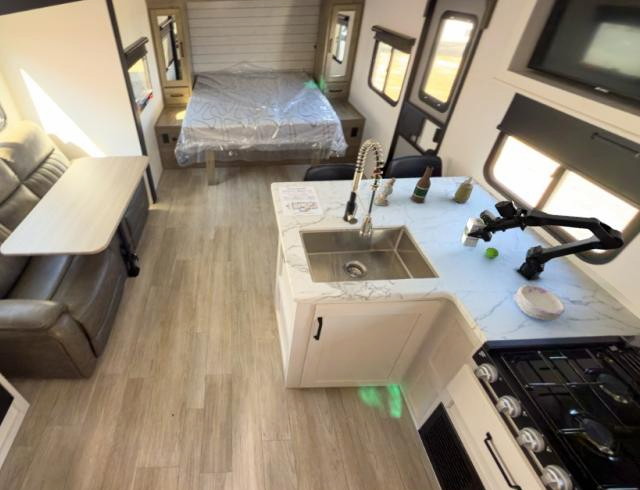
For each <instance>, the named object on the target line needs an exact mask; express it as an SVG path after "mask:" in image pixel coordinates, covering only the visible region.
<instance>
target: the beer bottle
mask: <svg viewBox="0 0 640 490" xmlns="http://www.w3.org/2000/svg"><path fill="white" fill-rule="evenodd" d="M425 168H426V170H425V172H424V173H423V176H422V177H421V178H419V179H418V180H417V182H416V185H415V187H414V190H413V192H412V195H411V201H412V202H414V203H416V204H423V203H424V201H425V200H426V197H427V195H428V192H429V189H430V188H431V183H432V182H431V176H432V173H433V171H434V167H433V166H429V165H427V166H426V167H425Z"/></svg>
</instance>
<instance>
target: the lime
mask: <svg viewBox="0 0 640 490" xmlns="http://www.w3.org/2000/svg"><path fill="white" fill-rule="evenodd" d="M499 253H500V252H499V250H498V249H497V248H495V247H488V248H487V249H485V255H486V256H487V258H492V259H495V258H498V256H499Z"/></svg>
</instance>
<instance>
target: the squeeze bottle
mask: <svg viewBox="0 0 640 490" xmlns="http://www.w3.org/2000/svg"><path fill="white" fill-rule="evenodd" d="M473 179H474V178H473V176H472V175H470V176H469V178H468V179H465V180H464V181H463V182H461V183H460V185H459V186H458V188H457V190H455V193H454V201H455V202H457V203H459V204H464V203H466V202H467V201H469V199H470V198H471V195H472V192H473V189H474V181H473Z"/></svg>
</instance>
